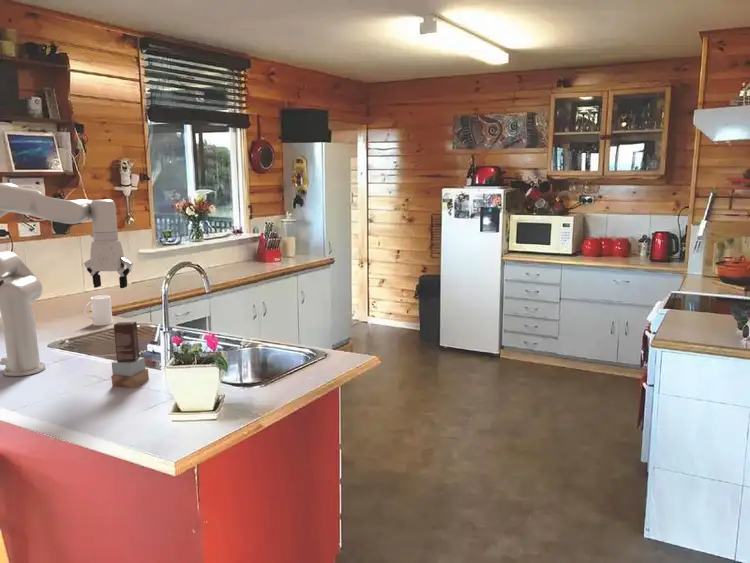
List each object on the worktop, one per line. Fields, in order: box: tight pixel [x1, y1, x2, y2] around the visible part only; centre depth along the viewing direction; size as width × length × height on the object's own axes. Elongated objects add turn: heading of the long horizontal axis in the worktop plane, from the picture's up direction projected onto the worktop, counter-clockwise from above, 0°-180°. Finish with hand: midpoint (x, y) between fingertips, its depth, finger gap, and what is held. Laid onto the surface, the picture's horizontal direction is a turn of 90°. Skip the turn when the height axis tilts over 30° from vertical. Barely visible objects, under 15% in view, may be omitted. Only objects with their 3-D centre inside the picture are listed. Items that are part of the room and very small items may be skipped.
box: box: [113, 321, 140, 361], centre depth 201 cm, size 6×4×12 cm
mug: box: [83, 294, 114, 327], centre depth 277 cm, size 12×8×12 cm
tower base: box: [111, 368, 150, 389], centre depth 203 cm, size 8×8×4 cm
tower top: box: [111, 356, 146, 376], centre depth 202 cm, size 7×7×4 cm
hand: (110, 287), depth 213 cm, fingers open, 9 cm apart
